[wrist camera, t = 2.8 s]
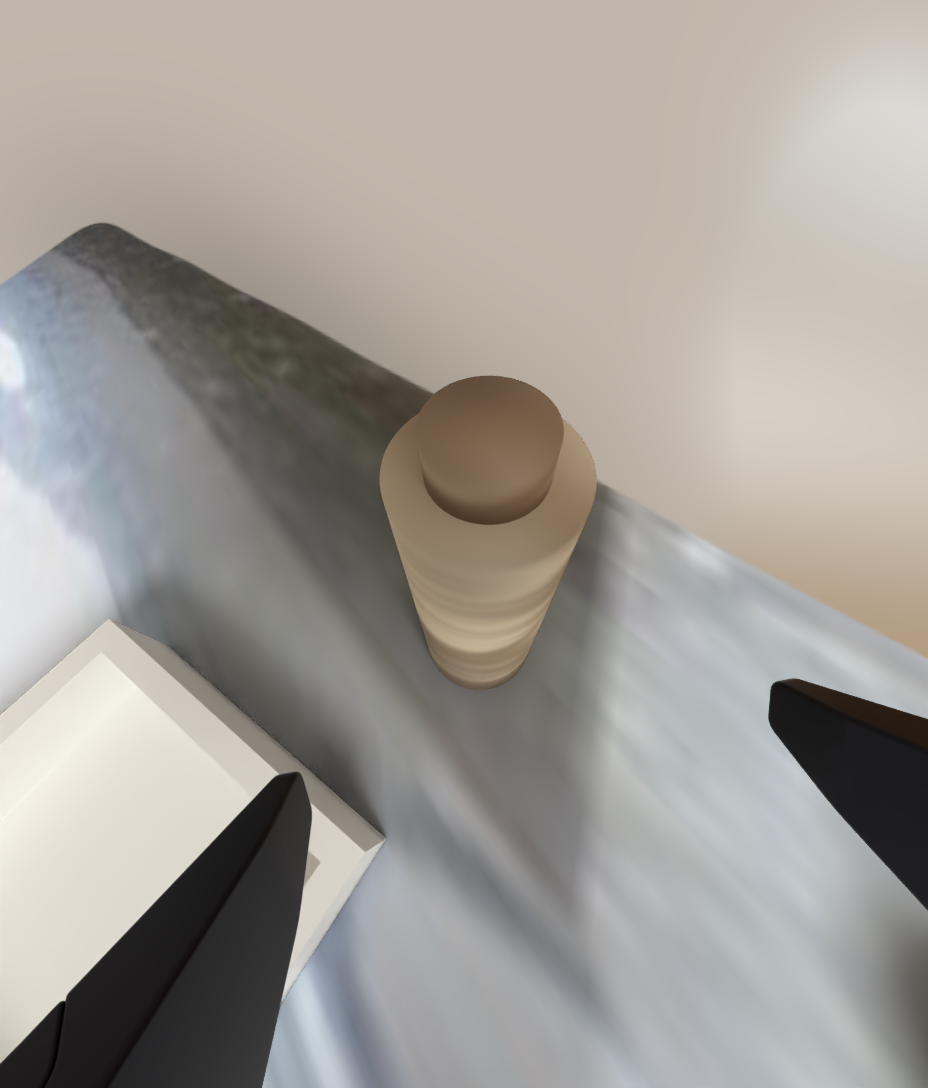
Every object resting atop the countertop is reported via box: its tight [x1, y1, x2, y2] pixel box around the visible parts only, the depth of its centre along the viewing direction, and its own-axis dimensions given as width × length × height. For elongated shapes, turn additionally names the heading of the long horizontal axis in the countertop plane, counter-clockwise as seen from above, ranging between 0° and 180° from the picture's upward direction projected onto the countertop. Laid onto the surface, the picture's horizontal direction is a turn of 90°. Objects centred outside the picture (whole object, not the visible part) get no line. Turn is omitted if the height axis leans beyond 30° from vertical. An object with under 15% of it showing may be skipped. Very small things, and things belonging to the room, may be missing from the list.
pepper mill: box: [380, 376, 597, 689], centre depth 15 cm, size 5×5×14 cm
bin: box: [0, 619, 386, 1063], centre depth 15 cm, size 14×14×4 cm
